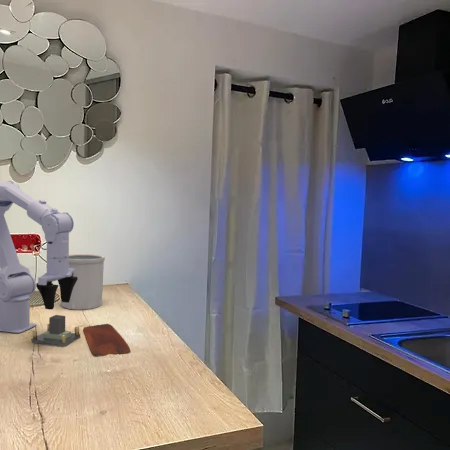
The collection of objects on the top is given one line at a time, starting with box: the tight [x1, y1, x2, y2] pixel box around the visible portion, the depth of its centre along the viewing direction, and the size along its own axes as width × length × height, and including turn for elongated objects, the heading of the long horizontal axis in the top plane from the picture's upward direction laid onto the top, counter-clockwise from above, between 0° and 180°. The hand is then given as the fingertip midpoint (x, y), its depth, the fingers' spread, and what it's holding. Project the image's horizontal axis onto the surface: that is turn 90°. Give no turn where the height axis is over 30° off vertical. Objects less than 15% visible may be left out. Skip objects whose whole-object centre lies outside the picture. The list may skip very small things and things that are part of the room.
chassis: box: [30, 323, 81, 348], centre depth 130 cm, size 10×8×3 cm
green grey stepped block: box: [42, 314, 72, 340], centre depth 130 cm, size 6×4×6 cm, turn 76°
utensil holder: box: [60, 252, 106, 311], centre depth 166 cm, size 15×15×18 cm
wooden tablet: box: [82, 323, 131, 358], centre depth 133 cm, size 27×10×2 cm, turn 24°
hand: (57, 305), depth 131 cm, fingers open, 7 cm apart
